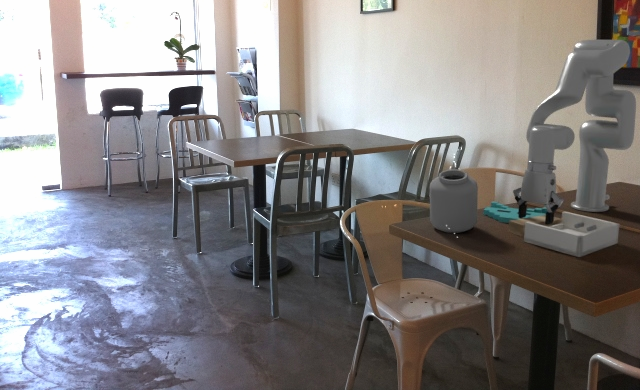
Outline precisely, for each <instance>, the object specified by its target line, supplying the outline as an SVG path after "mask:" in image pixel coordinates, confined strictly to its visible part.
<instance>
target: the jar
mask: <svg viewBox="0 0 640 390" xmlns="http://www.w3.org/2000/svg"><path fill="white" fill-rule="evenodd" d="M454 155H456V154H455V153H453V159H455V158H456V156H454ZM452 162H453V163H454V167H455V168H457V164H456V162H455V161H452ZM451 168H452V166H449V169H446V170H443V171H441V172H440V173H439V174H438V176H436V177H434V178H433V179H432V180H431V181H430V184H429V219H430V223H431V225H432V227H434V228H435V229H437V230H439V231H440V232H441V231H442V232H445V233H449V234H454V235H455V234H456V233H457V234H458V233H463V232H467V231H469V230H471V229H472V228H474V227H475V226H476V224H477V221H478V194H479V192H478V191H479V190H478V189H479V186H478V183H477V181H476V180H475V179H474V178H473V177H471V176H469V173H468V172H467V171H465V170H461V169H460V168H459V167H458V169H451ZM456 238H459V237H458V236H456Z"/></svg>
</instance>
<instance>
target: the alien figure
mask: <svg viewBox="0 0 640 390" xmlns="http://www.w3.org/2000/svg"><path fill="white" fill-rule="evenodd" d="M518 211H519V208H513V207H510V206H509V205H504V203H499V201H491V203H490V206H486V207H485V208H484V209H483V216H488V218H493V220H496V221H498V223H506V224H509V221H510V220H516V219H523V218H529V217H536V216H542V215H546V212H548V210H547V209H546V207H545V206H543V207H535V208H528V207H527V211H526V217H523V218H519V217H518V216H519V214H518Z"/></svg>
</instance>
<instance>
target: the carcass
mask: <svg viewBox="0 0 640 390" xmlns="http://www.w3.org/2000/svg"><path fill="white" fill-rule="evenodd" d="M561 219H562V220H561V223H558V224H555V225H552V226H548V227H547V226H543V225H539V224H535V223H531V222H525V234H524V237H523V242H524V243H528V244H531V245H535V246H539V247H542V248H545V249H549V250H552V251H557V252H559V253H563V254H567V255H569V256H570V255H571V256H574V257H577V258H581V257H584V256H586V255H588V254H591V253H595V252H597V251H600V250H604V249H606V248H608V247H611V246H613V245H617V244H618V241H619V233H620V223H616V222H613V221H610V220H605V219H600V218H596V217H592V216H586V215H581V214H578V213H574V212H573V213H572V212H569V211H565V210H564V211H562V212H561Z"/></svg>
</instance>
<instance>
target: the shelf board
mask: <svg viewBox="0 0 640 390" xmlns="http://www.w3.org/2000/svg"><path fill="white" fill-rule="evenodd" d="M545 218H546V215H542V216H536V217H529V218H523V219H516V220H510V221H509V223H508V233H512V234H514V235H517V236H519V237H521V238H522V237H523V238H524V234H525V222H531V223H535V224H539V225H543V226H547V227H548V226H552V225H555V224H558V223H561V220H562V218H559V217H556V216H554V221H553V223H552V224H549V225H546V224H545Z"/></svg>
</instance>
